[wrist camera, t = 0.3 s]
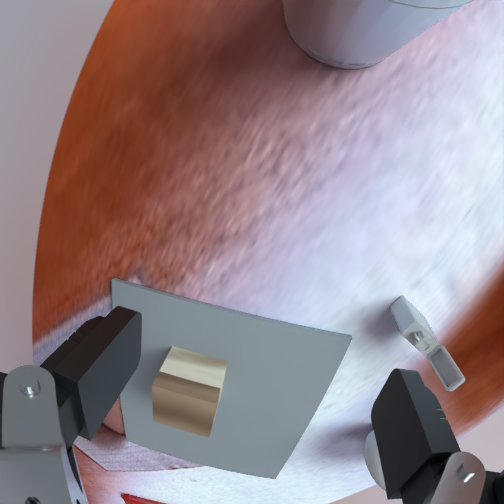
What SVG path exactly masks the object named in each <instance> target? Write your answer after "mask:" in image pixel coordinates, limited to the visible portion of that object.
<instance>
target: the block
mask: <svg viewBox="0 0 504 504" xmlns="http://www.w3.org/2000/svg"><path fill="white" fill-rule="evenodd" d="M227 365H228V361H225V360H221V359H217V358H214V357H210V356H206V355H202V354H199V353H195V352H191V351H188V350H184V349H181V348H177V347H174V346H172V348H171V350H170V351H169V353H168V355H167V357H166V359H165V361H164V363H163V365H162V367H161V369H160V371H159V373H158V374H157V376H156V378H155V380H154V382H153V384H152V407H153V421H154V422H157V423H160V424H163V425H166V426H169V427H173V428H176V429H179V430H183V431H186V432H189V433H193V434H197V435H200V436H204V437H208V438H209V437H210V433H211V429H212V426H213V422H214V419H215V415H216V412H217V408H218V404H219V401H220V397H221V393H222V388H223V383H224V379H225V374H226V370H227Z"/></svg>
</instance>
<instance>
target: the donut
mask: <svg viewBox="0 0 504 504" xmlns="http://www.w3.org/2000/svg"><path fill="white" fill-rule="evenodd" d="M364 457H365V461H366V465H367V467H368V470H369V472H370V474H371V476H372V477H373V479H374V480H375V482H376V483H377V484H378V485H379V486H380V487H381V488H382V489H384V490H385V491H386V487H385V482H384V477H383V472H382V467H381V462H380V457H379V452H378V448H377V443H376V438H375V434H374V430H372V431H371V432H370V433H369V434H368V436H367V437H366V440H365V444H364Z"/></svg>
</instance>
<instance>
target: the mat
mask: <svg viewBox="0 0 504 504" xmlns="http://www.w3.org/2000/svg"><path fill="white" fill-rule="evenodd" d="M116 306H122V307H125V308H128V309H131V310H134V311H138V312H140V313H141V314H142V338H141V357H140V361H139V364H138V367H137V369H136V371H135V372H134V374H133V375H132V377H131V378H130V380H129V381H128V383H127V384H126V386H125V388H124V389H123V391H122V392H121V394H120V401H121V408H122V415H123V421H124V427H125V433H126V438H127V441H130V442H132V443H135V444H138V445H140V446H143V447H146V448H149V449H152V450H155V451H158V452H161V453H164V454H167V455H170V456H174V457H177V458H180V459H184V460H187V461H191V462H194V463H198V464H202V465H206V466H210V467H214V468H218V469H223V470H227V471H232V472H237V473H242V474H247V475H253V476H258V477H264V478H271V479H276V477H277V475H278V474H279V472H280V471H281V469H282V468H283V466H284V465H285V463H286V461H287V460H288V458H289V457H290V455H291V453H292V452H293V450H294V448H295V447H296V445H297V443H298V442H299V440H300V438H301V437H302V435H303V433H304V431H305V430H306V428H307V426H308V424H309V423H310V421H311V419H312V417H313V415H314V414H315V412H316V410H317V408H318V406H319V404H320V403H321V401H322V399H323V397H324V395H325V393H326V391H327V389H328V387H329V385H330V384H331V382H332V380H333V378H334V376H335V374H336V372H337V370H338V367H339V365H340V363H341V361H342V359H343V357H344V355H345V353H346V351H347V349H348V347H349V344H350V342H351V340H352V336H351V335H345V334H340V333H335V332H330V331H325V330H320V329H315V328H310V327H305V326H301V325H296V324H291V323H287V322H282V321H278V320H273V319H269V318H265V317H260V316H256V315H252V314H247V313H243V312H239V311H235V310H231V309H227V308H223V307H219V306H215V305H211V304H207V303H203V302H199V301H195V300H192V299H188V298H184V297H180V296H177V295H173V294H169V293H166V292H162V291H159V290H155V289H151V288H148V287H144V286H141V285H138V284H134V283H131V282H127V281H124V280H121V279H117V278H113V279H112V310H113V309H114V308H115V307H116ZM172 346H174V347H177V348H181V349H184V350H188V351H191V352H195V353H199V354H202V355H206V356H210V357H214V358H217V359H221V360H225V361H228V365H227V370H226V374H225V379H224V383H223V388H222V393H221V397H220V401H219V404H218V408H217V412H216V415H215V419H214V422H213V426H212V429H211V433H210V437H209V438H208V437H204V436H200V435H197V434H193V433H189V432H186V431H183V430H179V429H176V428H173V427H169V426H166V425H163V424H160V423H157V422H154V421H153V407H152V384H153V382H154V380H155V378H156V376H157V374H158V373H159V371H160V369H161V367H162V365H163V363H164V361H165V359H166V357H167V355H168V353H169V351H170V350H171V348H172Z"/></svg>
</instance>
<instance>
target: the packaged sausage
mask: <svg viewBox="0 0 504 504" xmlns="http://www.w3.org/2000/svg"><path fill="white" fill-rule="evenodd" d="M121 497H122V498H123V499H124V501H125V503H126V504H165V503H161V502H157V501H152V500H148V499H144V498H140V497H137V496H133V495H129V494H125V495H122V494H121Z"/></svg>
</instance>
